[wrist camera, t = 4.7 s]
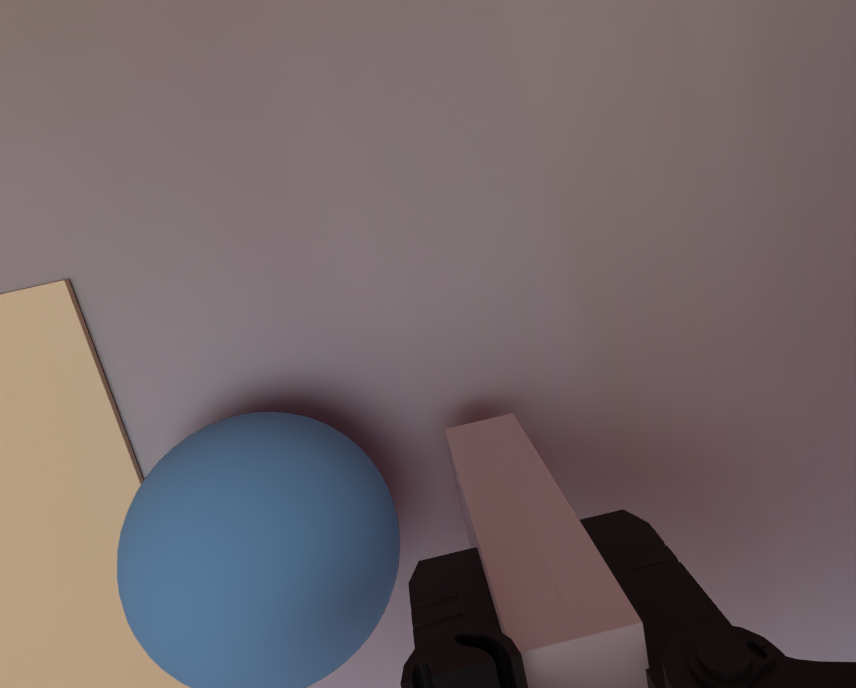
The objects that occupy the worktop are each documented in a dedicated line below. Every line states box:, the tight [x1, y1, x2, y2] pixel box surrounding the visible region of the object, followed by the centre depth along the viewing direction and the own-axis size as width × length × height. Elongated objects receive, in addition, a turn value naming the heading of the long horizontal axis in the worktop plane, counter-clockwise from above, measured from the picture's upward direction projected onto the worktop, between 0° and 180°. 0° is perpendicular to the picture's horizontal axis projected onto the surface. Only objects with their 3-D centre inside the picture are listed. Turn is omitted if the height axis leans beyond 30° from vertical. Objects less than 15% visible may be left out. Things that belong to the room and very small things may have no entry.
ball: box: [117, 412, 400, 688], centre depth 13 cm, size 6×6×6 cm
